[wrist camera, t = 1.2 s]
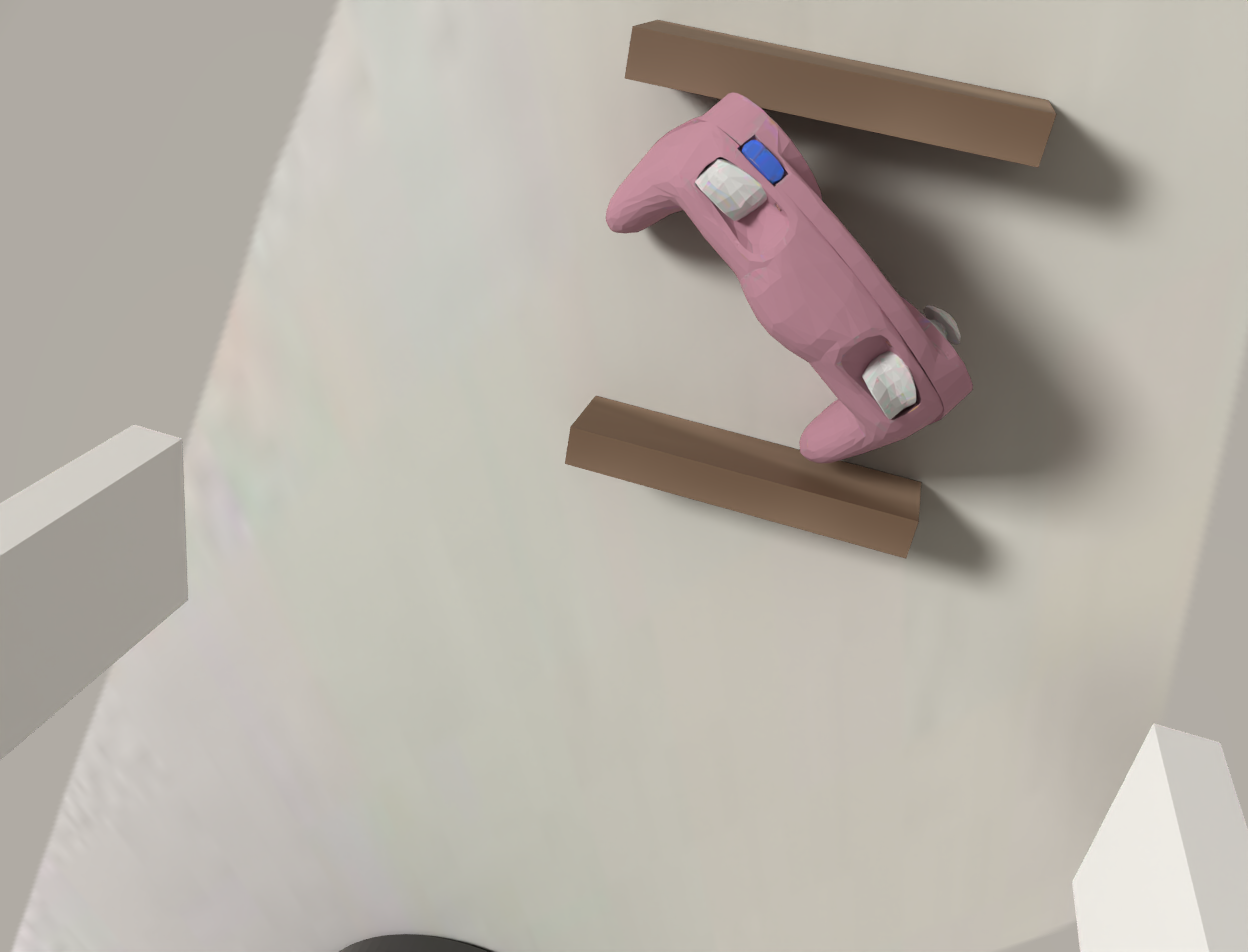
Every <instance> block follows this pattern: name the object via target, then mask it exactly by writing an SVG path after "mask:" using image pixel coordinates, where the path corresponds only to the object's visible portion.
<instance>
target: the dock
mask: <svg viewBox="0 0 1248 952" xmlns="http://www.w3.org/2000/svg"><path fill="white" fill-rule="evenodd" d="M625 78H626V79H630V80H635V81H640V82H644V83H649V84H653V85H658V86H663V87H667V88H672V89H677V90H681V91H686V92H691V93H695V94H700V95H704V96H709V97H714V98H718V99H723V98H724V97H725V96H726V95H727V94H729V93H738V94H740V95H743V96H745V97H747V98H748V99H750V100H751V101H752V102H753V103H755V104H756V105H757V106H759V107H760V108H765V109H769V110H774V111H779V112H783V113H788V114H793V115H797V116H802V117H806V118H811V119H816V120H820V121H825V122H830V123H834V124H839V125H844V126H848V127H853V128H857V129H862V130H867V131H871V132H876V133H881V134H885V135H890V136H895V137H899V138H904V139H908V140H913V141H918V142H922V143H927V144H932V145H936V146H941V147H946V148H950V149H955V150H959V151H964V152H969V153H973V154H978V155H983V156H987V157H992V158H996V159H1001V160H1006V161H1010V162H1015V163H1020V164H1024V165H1029V166H1034V167H1039V164H1040V161H1041V158H1042V155H1043V152H1044V149H1045V146H1046V143H1047V140H1048V138H1049V135H1050V132H1051V129H1052V126H1053V123H1054V120H1055V117H1056V113H1055V111H1054V109H1053V107H1052V106H1051V104H1050V102H1049V100H1045V99H1040V98H1035V97H1030V96H1025V95H1020V94H1016V93H1011V92H1006V91H1001V90H996V89H991V88H986V87H982V86H977V85H972V84H967V83H962V82H957V81H952V80H947V79H943V78H938V77H933V76H928V75H923V74H918V73H913V72H909V71H904V70H899V69H894V68H889V67H884V66H879V65H875V64H870V63H865V62H860V61H855V60H850V59H845V58H841V57H836V56H831V55H826V54H821V53H816V52H811V51H806V50H802V49H797V48H792V47H787V46H782V45H777V44H772V43H768V42H763V41H758V40H753V39H748V38H743V37H738V36H734V35H729V34H724V33H719V32H714V31H709V30H704V29H700V28H695V27H690V26H685V25H680V24H675V23H670V22H665V21H661V20H655V21H651V22H647V23H644V24H640V25H636V26H633V28H632V34H631V41H630V47H629V54H628V60H627V67H626V73H625ZM565 464H568V465H572V466H575V467H579V468H582V469H586V470H590V471H593V472H597V473H600V474H604V475H608V476H611V477H615V478H618V479H622V480H626V481H629V482H633V483H636V484H640V485H644V486H647V487H651V488H654V489H658V490H662V491H665V492H669V493H672V494H676V495H680V496H683V497H687V498H690V499H694V500H697V501H701V502H705V503H708V504H712V505H715V506H719V507H723V508H726V509H730V510H733V511H737V512H741V513H744V514H748V515H751V516H755V517H759V518H762V519H766V520H769V521H773V522H777V523H780V524H784V525H787V526H791V527H795V528H798V529H802V530H805V531H809V532H813V533H816V534H820V535H823V536H827V537H831V538H834V539H838V540H841V541H845V542H849V543H852V544H856V545H859V546H863V547H867V548H870V549H874V550H877V551H881V552H885V553H888V554H892V555H895V556H899V557H903V558H906V557H907V554H908V551H909V549H910V546H911V543H912V540H913V537H914V534H915V531H916V528H917V525H918V522H919V508H920V494H921V482H918V481H915V480H911V479H907V478H903V477H900V476H896V475H892V474H888V473H884V472H881V471H877V470H873V469H869V468H866V467H862V466H858V465H854V464H851V463H847V462H843V461H836V462H832V463H816V462H812V461H809V460H808V459H806V458H805V457H804V456H803V455H802V454H801V453H800V450H798V449H794V448H791V447H787V446H783V445H779V444H775V443H772V442H768V441H764V440H760V439H757V438H753V437H749V436H745V435H742V434H738V433H734V432H730V431H727V430H723V429H719V428H715V427H712V426H708V425H704V424H700V423H697V422H693V421H689V420H685V419H681V418H678V417H674V416H670V415H666V414H663V413H659V412H655V411H651V410H648V409H644V408H640V407H636V406H633V405H629V404H625V403H621V402H618V401H614V400H610V399H606V398H603V397H599V396H595V397H594V398H593V400H592V401H591V402H590V403H589V405H588V406H587V407H586V408H585V410H584V411H583V412H582V413H581V415H580V416H579V417H578V418H577V420H576V421H575V422H574V423H573V425H572V426H571V428H570V434H569V441H568V447H567V454H566V460H565Z"/></svg>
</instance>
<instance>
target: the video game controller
mask: <svg viewBox="0 0 1248 952" xmlns="http://www.w3.org/2000/svg"><path fill="white" fill-rule="evenodd" d="M682 210H684V211H685V212H686V214H687V215H688V216H689V218H690V219H691V220H692V222H693V223H694V224H695V226H696V227H697V228H698V230H699V231H700V232H701V234H702V235H703V236H704V238H705V239H706V240H707V241H708V242H709V244H710V245H711V246H712V247H713V248H714V249H715V251H716V252H717V253H718V254H719V255H720V256H721V258H722V259H723V260H724V261H725V262H726V263H727V264H728V266H729V267H730V268H731V269H732V270H733V271H734V273H735V274H736V276H737V278H738V279H739V282H740V284H741V287H742V289H743V292H744V294H745V297H746V299H747V301H748V303H749V305H750V306H751V308H752V310H753V312H754V314H755V316H756V318H757V319H758V321H759V322H760V323H761V324H762V326H763V327H764V328H765V329H766V331H767V332H768V333H769V334H770V335H771V336H772V337H773V338H775V339H776V340H777V341H778V342H780V343H781V344H782V345H783V346H784V347H786V348H787V349H788V350H790V351H791V352H793V353H794V354H796V355H798V356H799V357H801V358H802V359H804V360H806V361H807V362H809V363H810V364H811V366H812V367H813V368H814V369H815V371H816V372H817V373H818V374H819V376H820V377H821V378H822V379H823V380H824V382H825V383H826V384H827V385H828V387H829V388H830V389H831V390H832V392H833V393H834V394H835V395H836V397H837V398H838V400H836V401H835V402H833V403H832V404H831V405H830V406H828V407H827V408H826V409H825V410H824V411H823V412H822V413H821V414H820V415H818V416H817V417H816V418H815V419H814V420H813V421H812V422H811V423H810V424H809V425H808V426H807V427H806V428H805V430H804V432H803V433H802V435H801V439H800V442H799V443H800V453H801V454H802V455H803V456H804V457H805V458H806V459H808V460H809V461H812V462H816V463H832V462H836V461H839V460H842V459H846V458H849V457H853V456H856V455H859V454H863V453H865V452H868V451H871V450H874V449H877V448H880V447H883V446H885V445H888V444H891V443H894V442H897V441H899V440H902V439H905V438H906V437H908V436H910V435H912V434H913V433H915V432H917V431H919V430H920V429H922V428H924V427H925V426H926V425H929V424H932V423H934V422H936V421H939V420H941V419H942V418H943V417H944V416H945V415H946V414H947V413H948V412H949V411H951V410H952V409H953V408H954V407H955V406H956V405H957V404H958V403H959V402H960V401H961V400H963V399H964V398H965V397H966V396H967V395H968V394H969V393H970V392H971V391H972V390H973V384H972V381H971V378H970V376H969V374H968V371H967V369H966V367H965V364H964V363H963V361H962V360H961V358H960V357H959V355H958V354H957V352H956V351H955V349H954V348H953V346H952V345H951V344H950V343H949V342H951V343H953V344H959V343H960V337H961V335H960V333H959V332H960V331H959V329H958V327H957V323H956V322H955V320H954V319H953V318H952V316H951V315H950V314H948V313H947V312H946V311H944V310H941V309H939V308H937V307H934V306H929V305H927V306H926V307H925V308H924V312H925V315H926V317H925V316H924V315H922V314H921V313H920V312H919V311H918V310H917V309H916V308H915V307H914V306H913V305H911V304H910V303H909V302H908V301H906V300H905V299H904V298H903V297H901V296H899V295H898V293H897V292H896V291H895V289H894V288H893V287H892V285H891V284H890V283H889V282H888V280H887V279H886V278H885V276H884V275H883V274H882V272H881V271H880V270H879V268H878V267H877V266H876V265H875V263H874V262H873V261H872V259H871V258H870V257H869V255H868V254H867V253H866V252H865V250H864V249H863V248H862V247H861V246H860V244H859V243H858V242H857V241H856V240H855V238H854V237H853V236H852V235H851V234H850V232H849V231H848V230H847V229H846V227H845V226H844V225H843V224H842V223H841V221H840V220H839V219H838V218H837V217H836V216H835V214H834V213H833V212H832V211H831V210H830V209H829V208H828V207H827V206H826V204H825V203H824V202H823V201H822V195H821V192H820V189H819V186H818V184H817V182H816V180H815V177H814V175H813V173H812V171H811V170H810V168H809V166H808V165H807V163H806V161H805V160H804V158H803V156H802V155H801V153H800V152H799V150H798V149H797V147H796V146H795V145H794V143H793V142H792V140H791V139H790V138H789V137H788V135H787V134H786V133H785V132H784V131H783V130H782V128H781V127H780V126H779V125H778V124H777V123H776V122H775V121H774V120H773V119H772V118H771V117H770V116H769V115H768V114H767V113H766V112H765V111H764V110H762V109H761V108H760V107H759V106H757V105H756V104H755V103H753V102H752V101H751V100H750V99H748V98H747V97H745V96H743V95H740V94H738V93H729V94H727V95H726V96H725V97H724V98H723V99H722V100H720V101H719V102H718V103H717V104H716V105H715V106H713V107H712V108H711V109H710V110H709V111H707V112H706V113H705V114H704V115H703V116H700V117H697V118H694V119H691V120H689V121H688V122H686V123H684V124H682V125H680V126H678V127H676V128H675V129H673V130H671V131H669V132H668V133H667V134H665V135H664V136H663V137H662V138H661V139H659V140H658V141H657V142H656V143H655V144H654V145H653V147H652V148H651V149H650V150H649V151H648V153H647V154H646V155H645V156H644V157H643V159H642V160H641V161H640V162H639V163H638V165H637V166H636V167H635V168H634V169H633V171H632V172H631V173H630V174H629V175H628V177H627V178H626V179H625V180H624V181H623V183H622V184H621V185H620V186H619V188H618V189H617V191H616V192H615V194H614V195H613V197H612V198H611V200H610V203H609V205H608V208H607V212H606V222H607V224H608V226H609V227H610V229H611V230H612V231H614V232H617V233H633V232H639V231H641V230H643V229H645V228H647V227H649V226H651V225H653V224H654V223H656V222H658V221H660V220H661V219H663V218H665V217H667V216H668V215H670V214H672V213H675V212H679V211H682ZM948 341H949V342H948Z"/></svg>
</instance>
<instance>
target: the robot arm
mask: <svg viewBox="0 0 1248 952" xmlns="http://www.w3.org/2000/svg"><path fill="white" fill-rule="evenodd" d="M187 600H188V585H187V556H186V528H185V499H184V471H183V442H182V439H181V438H178V437H175V436H171V435H168V434H164V433H161V432H158V431H154V430H151V429H148V428H144V427H141V426H137V425H132V426H131V427H129V428H127V429H126V430H124V431H122V432H121V433H119V434H117V435H115V436H114V437H112V438H110V439H109V440H107V441H105V442H104V443H102V444H100V445H99V446H97V447H95V448H93V449H92V450H90V451H88V452H87V453H85V454H83V455H81V456H80V457H78V458H76V459H75V460H73V461H71V462H69V463H68V464H66V465H64V466H63V467H61V468H59V469H58V470H56V471H54V472H53V473H51V474H49V475H47V476H46V477H44V478H42V479H41V480H39V481H37V482H35V483H34V484H32V485H30V486H29V487H27V488H25V489H24V490H22V491H20V492H18V493H17V494H15V495H13V496H12V497H10V498H8V499H7V500H5V501H3V502H2V503H0V760H1V759H2V758H3V757H5V756H6V755H7V754H8V753H9V752H11V751H12V750H13V749H14V748H15V747H16V746H18V745H19V744H20V743H21V742H22V741H23V740H25V739H26V738H27V737H28V736H29V735H30V734H32V733H33V732H34V731H35V730H36V729H37V728H39V727H40V726H41V725H42V724H43V723H44V722H46V721H47V720H48V719H49V718H50V717H51V716H53V715H54V714H55V713H56V712H57V711H58V710H60V709H61V708H62V707H63V706H64V705H65V704H67V703H68V702H69V701H70V700H71V699H73V698H74V697H75V696H76V695H77V694H78V693H80V692H81V691H82V690H83V689H84V688H85V687H86V686H88V685H89V684H90V683H91V682H92V681H94V680H95V679H96V678H97V677H98V676H99V675H101V674H102V673H103V672H104V671H105V670H106V669H108V668H109V667H110V666H111V665H112V664H113V663H115V662H116V661H117V660H118V659H119V658H120V657H122V656H123V655H124V654H125V653H126V652H128V651H129V650H130V649H131V648H132V647H133V646H135V645H136V644H137V643H138V642H139V641H140V640H142V639H143V638H144V637H145V636H146V635H147V634H149V633H150V632H151V631H152V630H153V629H154V628H156V627H157V626H158V625H159V624H160V623H161V622H163V621H164V620H165V619H166V618H167V617H168V616H170V615H171V614H172V613H173V612H174V611H175V610H177V609H178V608H179V607H180V606H181V605H182V604H184V603H185V602H186V601H187ZM1072 885H1073V893H1074V902H1075V911H1076V919H1077V928H1078V937H1079V944H1080V952H1248V828H1247V825H1246V822H1245V819H1244V816H1243V812H1242V810H1241V806H1240V803H1239V800H1238V797H1237V794H1236V791H1235V787H1234V784H1233V781H1232V778H1231V775H1230V772H1229V769H1228V765H1227V762H1226V759H1225V756H1224V753H1223V750H1222V747H1221V744H1220V742H1217V741H1213V740H1210V739H1206V738H1203V737H1200V736H1196V735H1193V734H1189V733H1186V732H1183V731H1179V730H1176V729H1172V728H1169V727H1165V726H1162V725H1159V724H1155V723H1153V725H1152V727H1151V729H1150V731H1149V733H1148V735H1147V737H1146V739H1145V741H1144V743H1143V745H1142V747H1141V749H1140V751H1139V753H1138V755H1137V757H1136V758H1135V760H1134V762H1133V764H1132V766H1131V768H1130V770H1129V772H1128V774H1127V776H1126V778H1125V780H1124V782H1123V784H1122V786H1121V788H1120V790H1119V792H1118V794H1117V796H1116V798H1115V800H1114V802H1113V803H1112V805H1111V807H1110V809H1109V811H1108V813H1107V815H1106V817H1105V819H1104V821H1103V823H1102V825H1101V827H1100V829H1099V831H1098V833H1097V835H1096V837H1095V839H1094V841H1093V843H1092V845H1091V847H1090V848H1089V850H1088V852H1087V854H1086V856H1085V858H1084V860H1083V862H1082V864H1081V866H1080V868H1079V870H1078V872H1077V874H1076V876H1075V878H1074V880H1073V882H1072ZM340 952H488V951H485V950H482V949H480V948H477V947H474V946H471V945H468V944H464V943H460V942H457V941H453V940H448V939H444V938H438V937H432V936H423V935H407V934H405V935H387V936H380V937H374V938H370V939H366V940H363V941H360V942H357V943H355V944H352V945H350V946H348V947H346V948H345V949H343V950H341V951H340Z"/></svg>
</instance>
